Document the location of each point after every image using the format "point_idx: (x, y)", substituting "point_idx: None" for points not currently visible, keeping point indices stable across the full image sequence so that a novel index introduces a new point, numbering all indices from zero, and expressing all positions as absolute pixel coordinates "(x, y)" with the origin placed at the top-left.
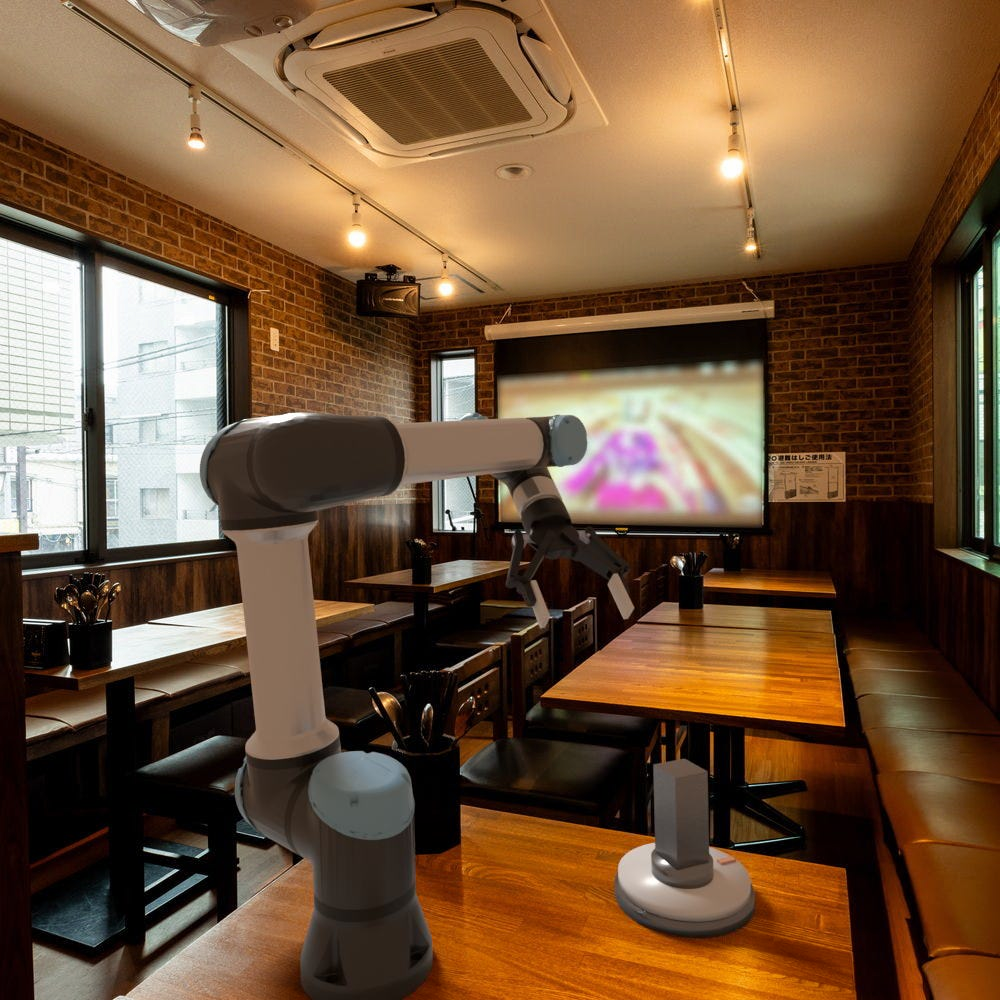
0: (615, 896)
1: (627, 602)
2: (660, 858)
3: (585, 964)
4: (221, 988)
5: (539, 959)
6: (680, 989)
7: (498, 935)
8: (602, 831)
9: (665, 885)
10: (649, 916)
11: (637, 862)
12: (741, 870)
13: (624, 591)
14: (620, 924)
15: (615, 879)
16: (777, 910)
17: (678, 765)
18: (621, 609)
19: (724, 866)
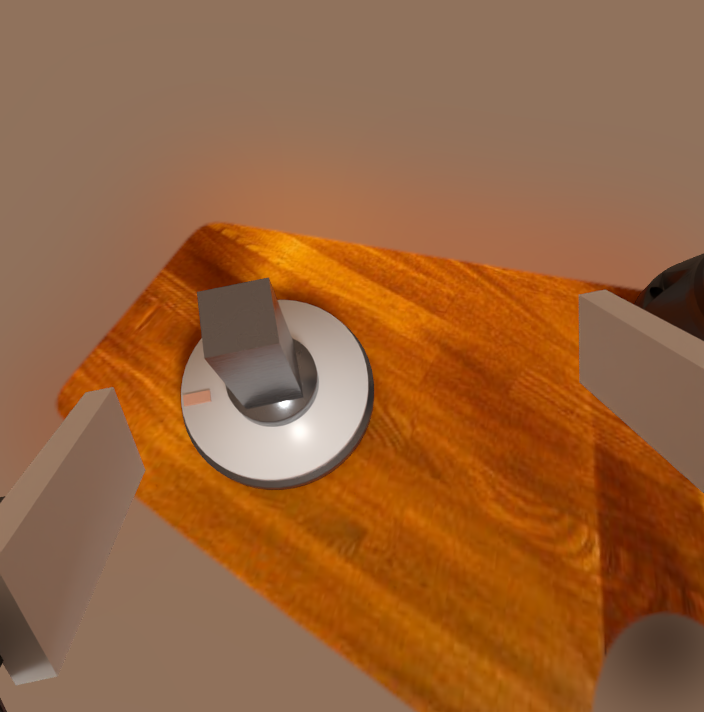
0: (372, 410)
1: (98, 406)
2: (303, 380)
3: (447, 297)
4: None
5: (498, 314)
6: (359, 246)
7: (545, 366)
8: (323, 630)
9: (313, 357)
10: (351, 332)
11: (327, 423)
12: (191, 371)
13: (51, 452)
14: (384, 357)
15: (366, 423)
16: (179, 346)
17: (233, 329)
18: (124, 481)
19: (208, 386)
